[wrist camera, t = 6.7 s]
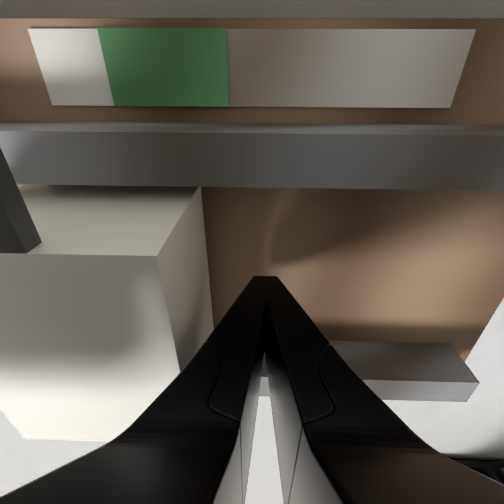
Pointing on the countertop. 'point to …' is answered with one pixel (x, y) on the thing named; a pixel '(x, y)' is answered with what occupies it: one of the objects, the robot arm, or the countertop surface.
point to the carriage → (96, 302)
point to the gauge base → (295, 163)
